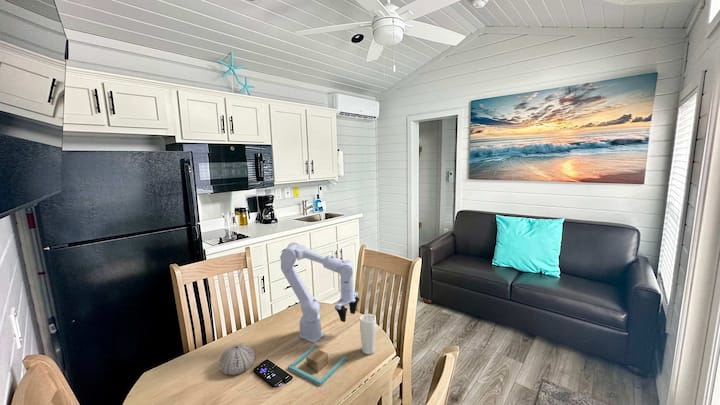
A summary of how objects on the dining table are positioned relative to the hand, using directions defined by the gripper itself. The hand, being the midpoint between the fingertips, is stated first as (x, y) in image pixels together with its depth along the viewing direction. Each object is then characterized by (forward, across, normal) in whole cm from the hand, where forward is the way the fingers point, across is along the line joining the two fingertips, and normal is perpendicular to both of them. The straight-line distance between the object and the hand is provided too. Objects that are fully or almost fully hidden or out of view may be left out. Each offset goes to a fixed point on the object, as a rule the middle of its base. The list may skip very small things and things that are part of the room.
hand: (347, 317), depth 132 cm
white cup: (+10, -4, -13) cm, 17 cm away
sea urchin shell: (+10, -38, +27) cm, 48 cm away
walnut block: (+10, -22, 0) cm, 24 cm away
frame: (+9, -21, 0) cm, 23 cm away
